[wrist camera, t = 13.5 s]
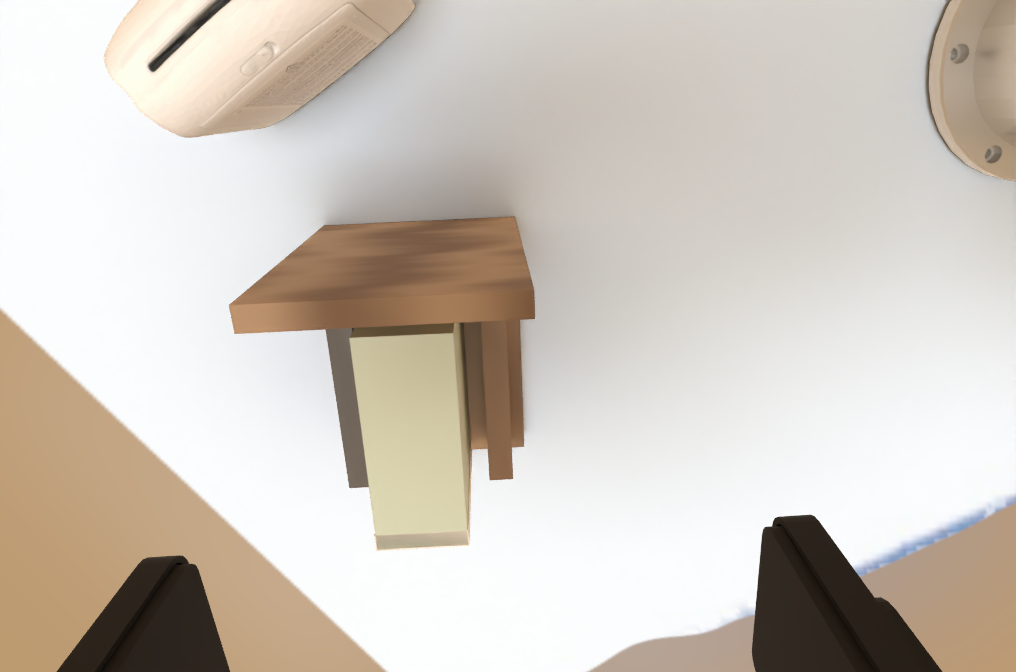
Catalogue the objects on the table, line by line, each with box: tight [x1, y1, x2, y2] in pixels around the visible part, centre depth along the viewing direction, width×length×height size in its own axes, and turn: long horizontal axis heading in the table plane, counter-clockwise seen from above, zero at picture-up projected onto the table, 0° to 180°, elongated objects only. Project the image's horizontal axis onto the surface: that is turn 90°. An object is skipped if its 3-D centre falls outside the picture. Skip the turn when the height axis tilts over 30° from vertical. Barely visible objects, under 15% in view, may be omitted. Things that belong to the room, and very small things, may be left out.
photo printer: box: [104, 0, 415, 138], centre depth 25 cm, size 10×4×12 cm, turn 125°
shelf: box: [229, 217, 535, 488], centre depth 30 cm, size 10×13×14 cm
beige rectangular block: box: [349, 322, 472, 551], centre depth 31 cm, size 4×10×9 cm, turn 2°
